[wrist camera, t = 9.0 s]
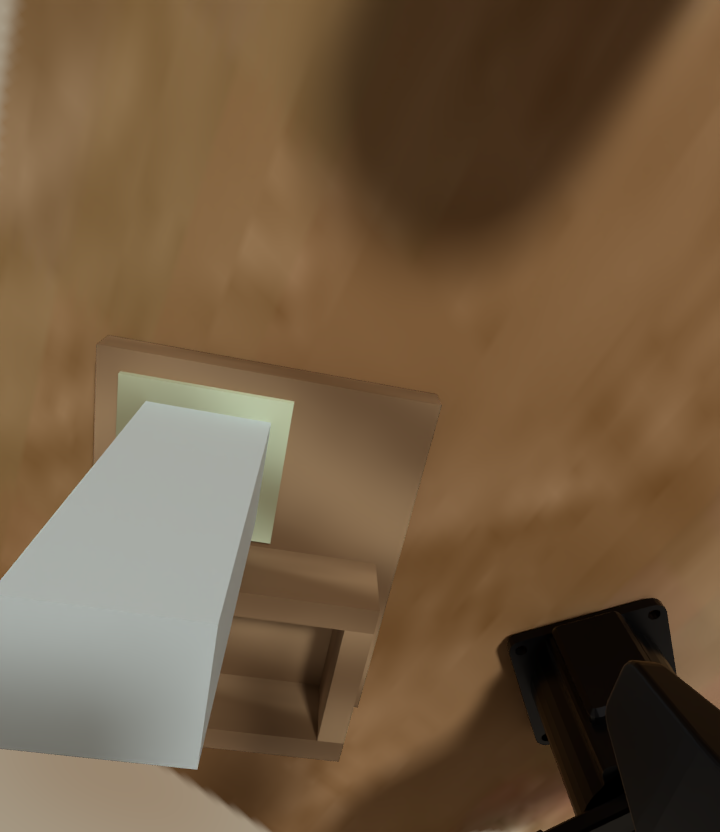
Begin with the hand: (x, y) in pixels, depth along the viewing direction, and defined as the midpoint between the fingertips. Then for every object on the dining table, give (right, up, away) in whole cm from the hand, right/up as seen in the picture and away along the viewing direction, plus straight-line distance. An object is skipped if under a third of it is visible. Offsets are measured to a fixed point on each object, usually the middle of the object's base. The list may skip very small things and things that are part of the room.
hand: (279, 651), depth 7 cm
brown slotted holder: (-3, -2, +15) cm, 15 cm away
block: (-4, +1, +12) cm, 13 cm away
